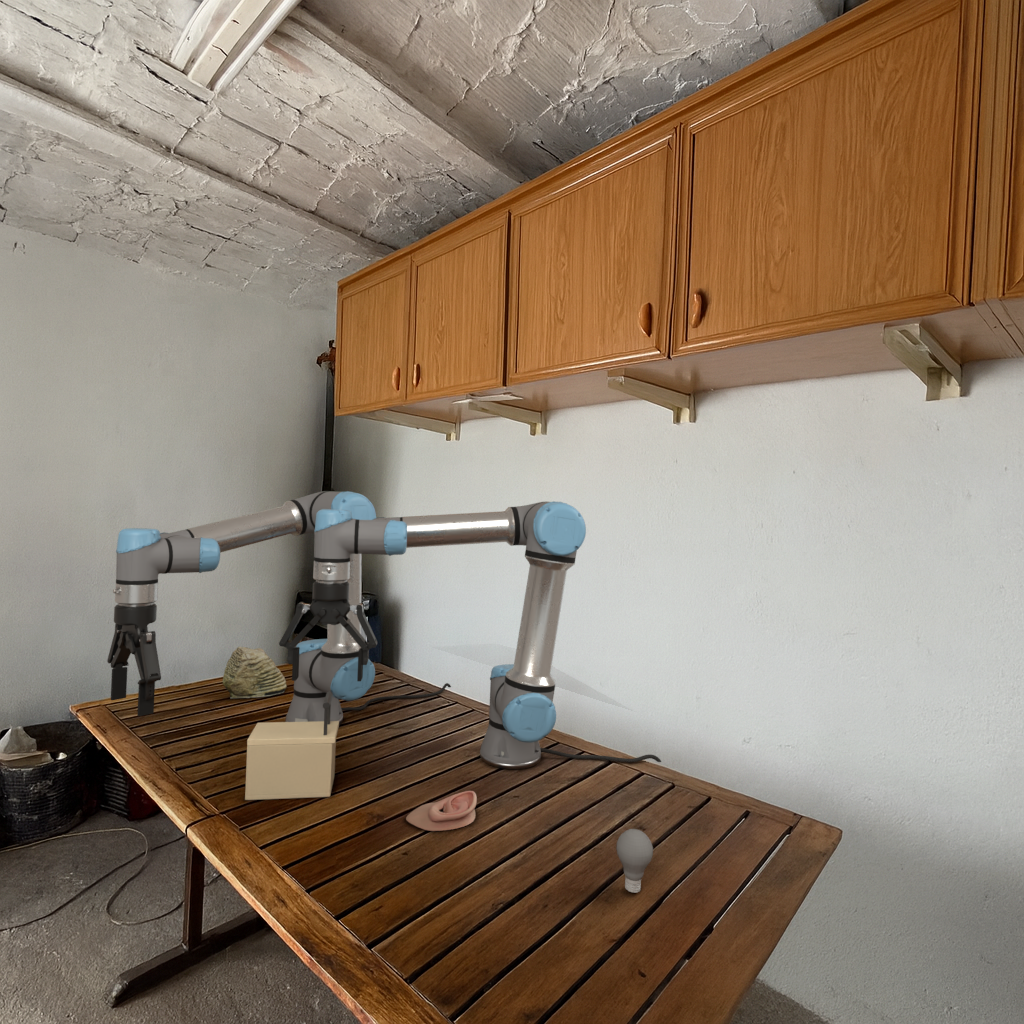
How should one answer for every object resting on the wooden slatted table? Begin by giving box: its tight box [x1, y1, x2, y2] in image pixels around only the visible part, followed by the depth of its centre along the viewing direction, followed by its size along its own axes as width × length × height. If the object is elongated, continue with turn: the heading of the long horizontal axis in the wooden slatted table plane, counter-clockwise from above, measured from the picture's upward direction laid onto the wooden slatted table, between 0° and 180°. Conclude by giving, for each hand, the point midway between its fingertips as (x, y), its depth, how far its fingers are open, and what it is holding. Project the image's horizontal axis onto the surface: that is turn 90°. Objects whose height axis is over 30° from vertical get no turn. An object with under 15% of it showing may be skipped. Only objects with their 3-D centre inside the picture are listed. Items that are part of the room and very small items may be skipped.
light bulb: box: [615, 828, 654, 894], centre depth 106 cm, size 6×6×10 cm
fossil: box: [222, 646, 288, 699], centre depth 198 cm, size 9×18×15 cm, turn 132°
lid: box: [246, 692, 340, 745], centre depth 137 cm, size 18×10×8 cm, turn 101°
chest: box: [244, 739, 337, 801], centre depth 137 cm, size 17×10×11 cm, turn 101°
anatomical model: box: [405, 790, 478, 832], centre depth 127 cm, size 13×4×12 cm
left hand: (131, 706), depth 130 cm, fingers open, 13 cm apart
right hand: (327, 679), depth 136 cm, fingers open, 13 cm apart
